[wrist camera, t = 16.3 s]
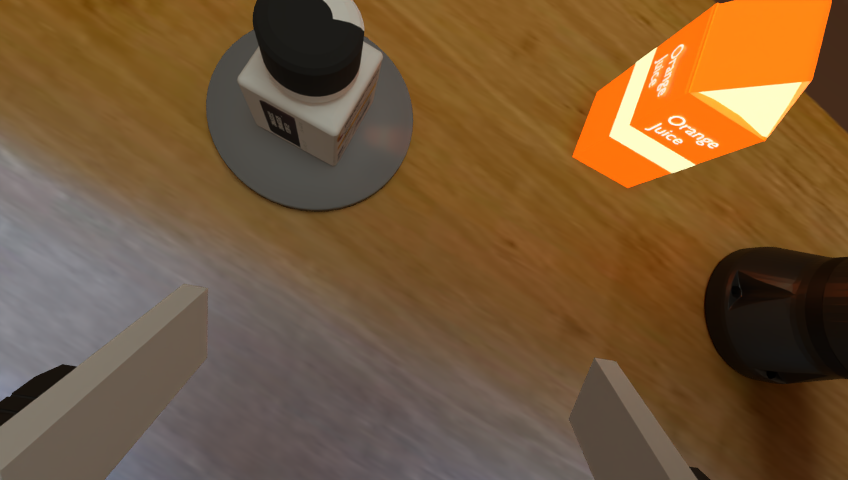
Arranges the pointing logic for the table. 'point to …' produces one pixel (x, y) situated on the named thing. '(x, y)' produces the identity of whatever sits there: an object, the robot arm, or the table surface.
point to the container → (310, 73)
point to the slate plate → (295, 168)
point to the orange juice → (705, 90)
